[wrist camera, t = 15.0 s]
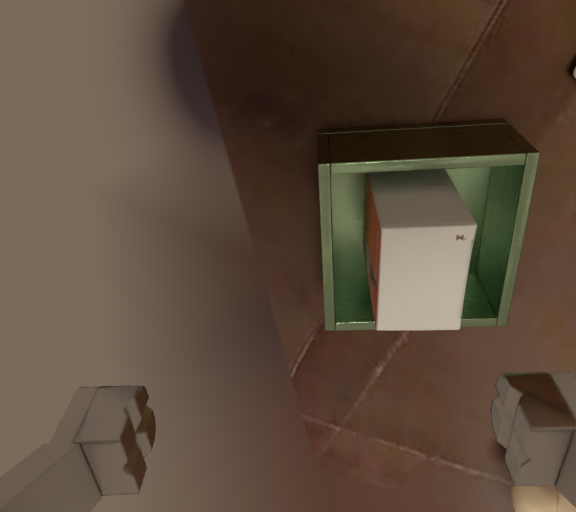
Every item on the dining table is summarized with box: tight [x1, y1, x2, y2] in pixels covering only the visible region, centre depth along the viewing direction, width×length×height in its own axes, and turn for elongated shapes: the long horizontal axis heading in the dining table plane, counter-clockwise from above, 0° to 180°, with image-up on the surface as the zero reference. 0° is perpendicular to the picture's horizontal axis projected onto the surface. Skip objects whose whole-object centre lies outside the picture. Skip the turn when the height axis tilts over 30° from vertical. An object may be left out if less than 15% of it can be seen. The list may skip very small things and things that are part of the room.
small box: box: [363, 169, 477, 330], centre depth 36 cm, size 8×6×10 cm
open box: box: [317, 119, 540, 331], centre depth 38 cm, size 14×14×7 cm
